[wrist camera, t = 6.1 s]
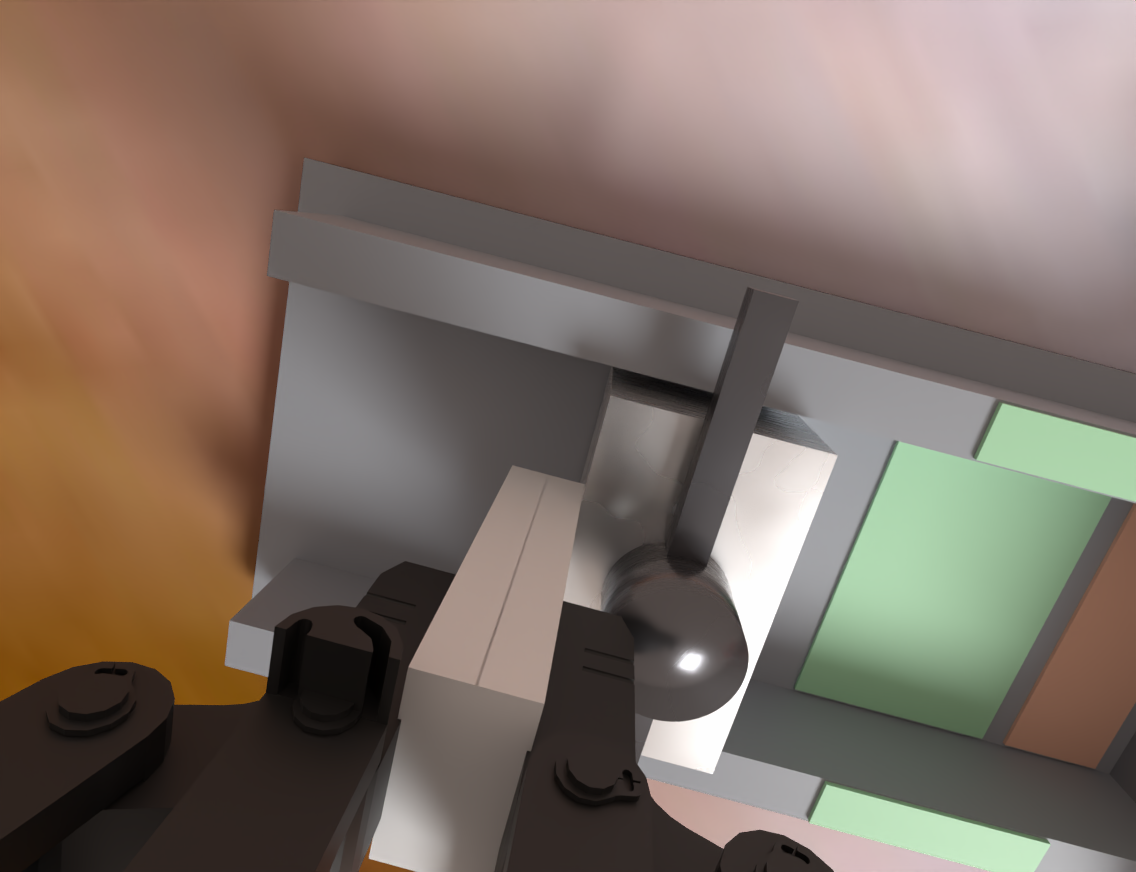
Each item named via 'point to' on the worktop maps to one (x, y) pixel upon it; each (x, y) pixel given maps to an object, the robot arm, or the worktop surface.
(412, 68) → the worktop surface
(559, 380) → the gauge bed
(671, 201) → the worktop surface
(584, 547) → the slider
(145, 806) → the robot arm
